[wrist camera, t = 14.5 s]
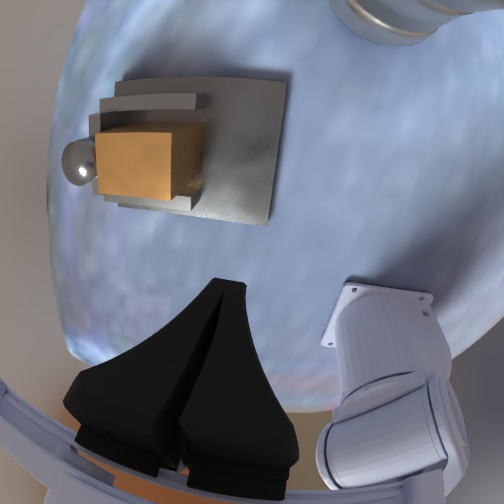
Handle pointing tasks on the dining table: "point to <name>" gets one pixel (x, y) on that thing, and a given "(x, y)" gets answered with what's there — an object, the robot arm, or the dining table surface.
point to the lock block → (148, 159)
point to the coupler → (212, 142)
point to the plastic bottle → (404, 17)
